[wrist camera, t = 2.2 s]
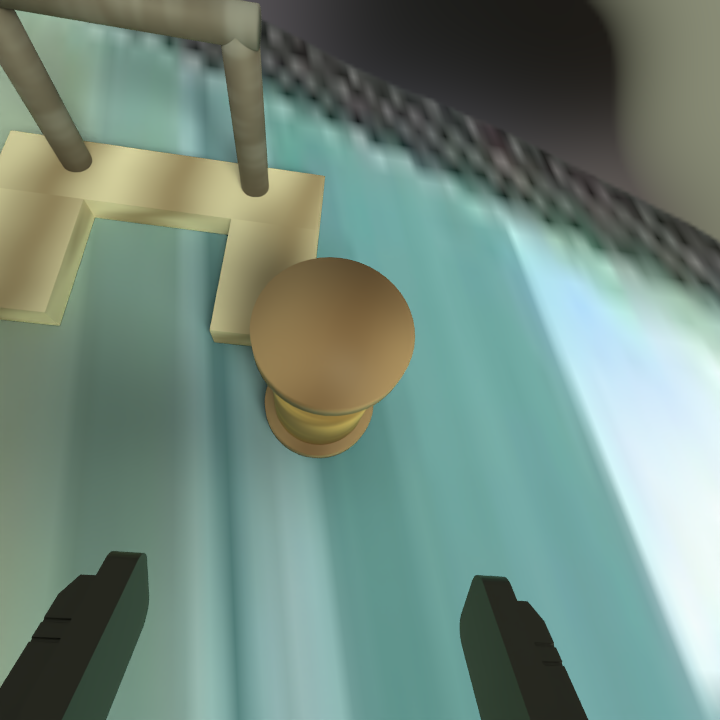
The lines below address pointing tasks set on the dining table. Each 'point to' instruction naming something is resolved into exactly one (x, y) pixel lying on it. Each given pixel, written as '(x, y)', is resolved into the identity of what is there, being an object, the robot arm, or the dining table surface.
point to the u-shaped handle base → (145, 171)
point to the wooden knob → (328, 351)
